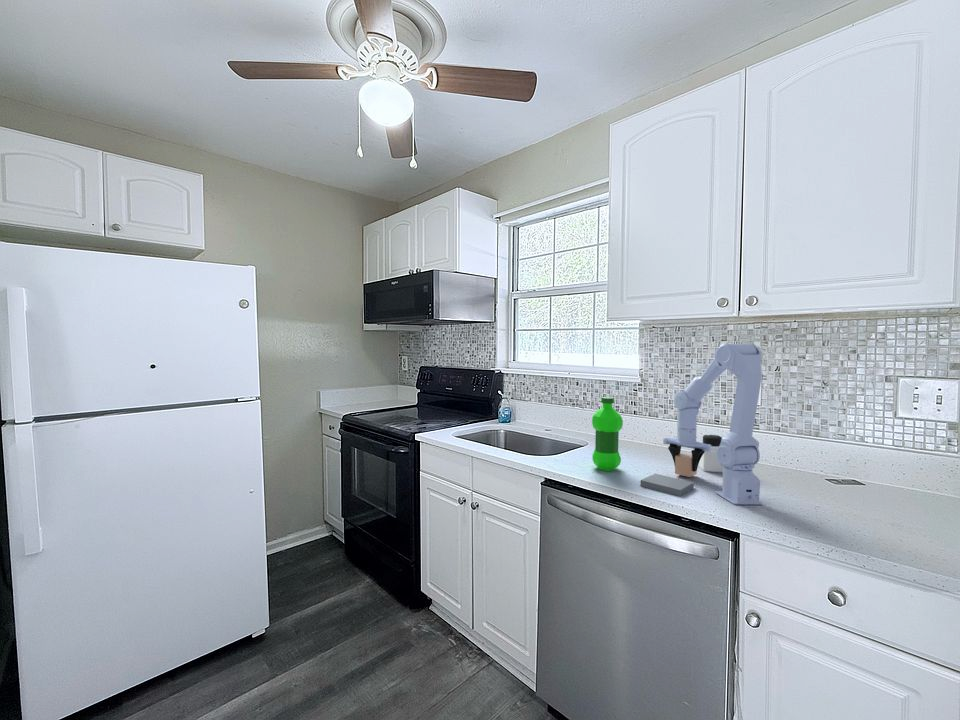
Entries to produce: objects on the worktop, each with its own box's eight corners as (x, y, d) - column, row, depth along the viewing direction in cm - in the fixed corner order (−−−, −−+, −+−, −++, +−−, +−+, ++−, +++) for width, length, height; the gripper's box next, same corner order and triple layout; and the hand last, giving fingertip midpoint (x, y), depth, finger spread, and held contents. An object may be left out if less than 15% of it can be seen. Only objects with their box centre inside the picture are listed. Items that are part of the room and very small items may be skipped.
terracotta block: (696, 474, 143) (696, 456, 143) (690, 477, 140) (691, 458, 140) (681, 470, 147) (681, 453, 147) (674, 473, 144) (675, 455, 143)
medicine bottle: (726, 472, 147) (727, 438, 147) (703, 471, 149) (704, 437, 148) (719, 467, 154) (720, 433, 154) (697, 465, 156) (698, 432, 155)
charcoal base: (693, 488, 132) (693, 482, 131) (680, 496, 125) (680, 490, 125) (655, 478, 140) (655, 473, 140) (640, 485, 133) (640, 480, 133)
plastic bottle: (585, 468, 152) (586, 397, 151) (602, 462, 159) (603, 395, 158) (610, 475, 144) (611, 400, 143) (627, 469, 151) (628, 397, 150)
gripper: (714, 429, 140) (713, 471, 141) (669, 423, 151) (669, 462, 151) (706, 432, 135) (705, 475, 136) (661, 426, 146) (660, 466, 147)
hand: (685, 469), depth 143 cm, fingers closed on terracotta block, 5 cm apart
